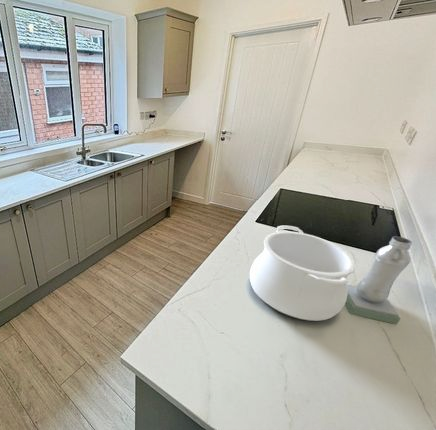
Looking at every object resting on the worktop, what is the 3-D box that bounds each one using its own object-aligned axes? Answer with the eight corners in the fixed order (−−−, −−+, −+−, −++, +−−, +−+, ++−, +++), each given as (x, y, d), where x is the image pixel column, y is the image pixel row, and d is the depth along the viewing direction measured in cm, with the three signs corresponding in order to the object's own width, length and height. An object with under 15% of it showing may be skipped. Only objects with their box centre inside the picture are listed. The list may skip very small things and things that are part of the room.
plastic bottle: (350, 287, 80) (379, 231, 71) (377, 292, 78) (411, 236, 69) (359, 302, 75) (392, 244, 66) (388, 308, 73) (427, 249, 64)
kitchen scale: (379, 298, 80) (383, 291, 79) (396, 324, 72) (401, 316, 70) (337, 289, 84) (341, 282, 82) (349, 313, 75) (354, 306, 74)
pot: (237, 263, 96) (247, 222, 88) (310, 270, 93) (327, 227, 85) (262, 326, 72) (280, 277, 64) (363, 339, 68) (395, 288, 60)
